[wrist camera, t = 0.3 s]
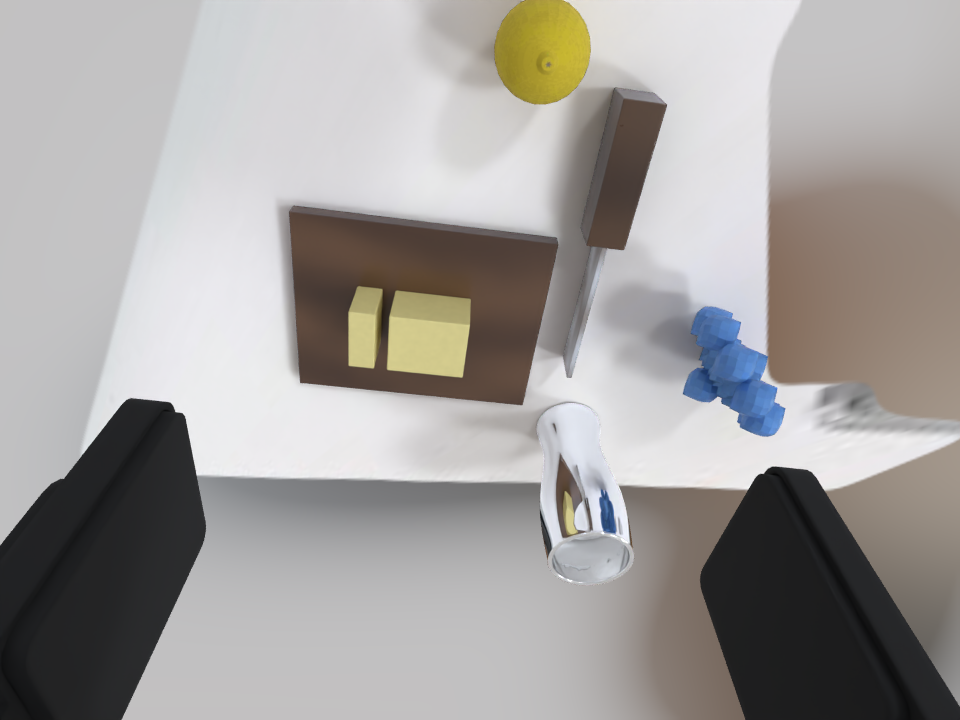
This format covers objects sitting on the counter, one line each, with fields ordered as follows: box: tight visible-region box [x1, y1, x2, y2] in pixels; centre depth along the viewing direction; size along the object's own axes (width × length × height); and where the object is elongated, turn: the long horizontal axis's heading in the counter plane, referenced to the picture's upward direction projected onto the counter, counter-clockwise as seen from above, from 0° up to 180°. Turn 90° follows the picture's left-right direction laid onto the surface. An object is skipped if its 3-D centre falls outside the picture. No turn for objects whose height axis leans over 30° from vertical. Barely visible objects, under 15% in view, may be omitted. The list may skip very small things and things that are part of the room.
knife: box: [563, 88, 667, 378], centre depth 44 cm, size 22×3×3 cm, turn 173°
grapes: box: [683, 307, 785, 436], centre depth 46 cm, size 12×7×12 cm, turn 33°
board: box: [289, 206, 558, 405], centre depth 49 cm, size 16×20×1 cm
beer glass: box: [536, 403, 634, 585], centre depth 51 cm, size 7×7×15 cm
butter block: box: [387, 291, 471, 378], centre depth 47 cm, size 5×6×4 cm
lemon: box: [494, 0, 591, 104], centre depth 34 cm, size 6×6×8 cm
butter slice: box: [348, 286, 383, 368], centre depth 46 cm, size 5×2×4 cm, turn 173°
